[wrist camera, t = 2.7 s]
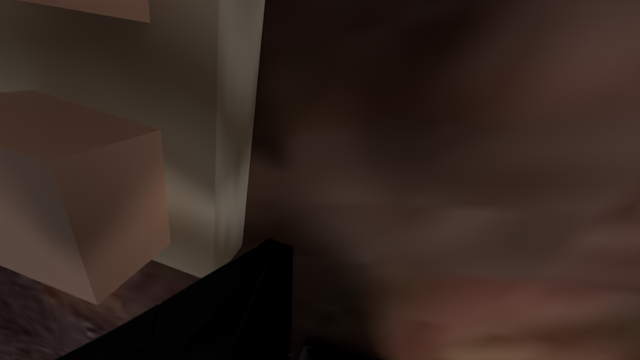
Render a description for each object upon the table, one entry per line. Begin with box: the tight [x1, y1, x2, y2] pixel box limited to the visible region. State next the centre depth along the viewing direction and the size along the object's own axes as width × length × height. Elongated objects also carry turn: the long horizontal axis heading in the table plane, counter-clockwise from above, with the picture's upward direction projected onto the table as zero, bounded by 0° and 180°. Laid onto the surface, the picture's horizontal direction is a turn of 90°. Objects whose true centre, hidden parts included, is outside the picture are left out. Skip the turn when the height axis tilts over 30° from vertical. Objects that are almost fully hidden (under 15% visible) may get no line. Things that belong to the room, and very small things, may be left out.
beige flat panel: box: [0, 0, 265, 278], centre depth 9 cm, size 16×12×2 cm
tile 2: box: [0, 90, 171, 305], centre depth 8 cm, size 5×5×3 cm
